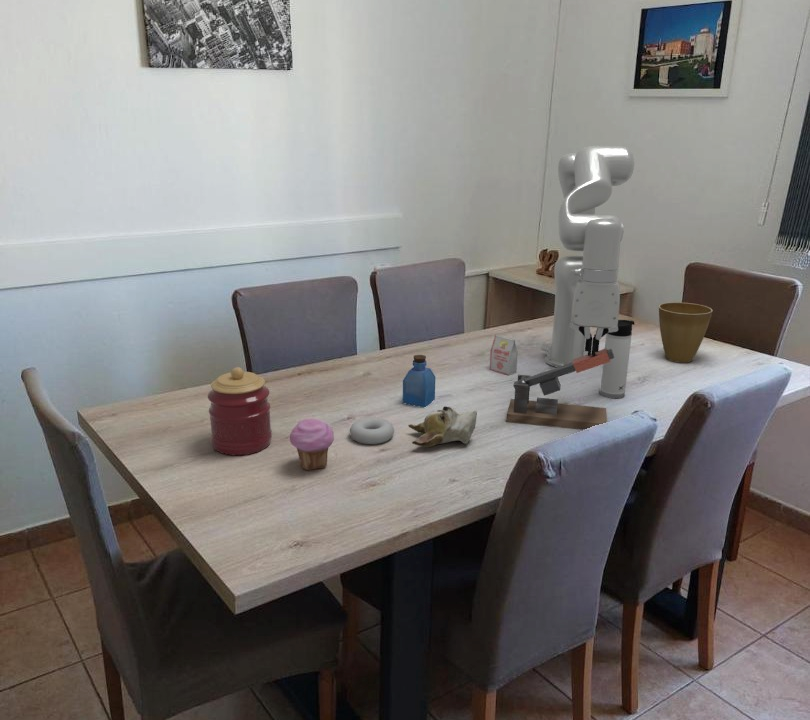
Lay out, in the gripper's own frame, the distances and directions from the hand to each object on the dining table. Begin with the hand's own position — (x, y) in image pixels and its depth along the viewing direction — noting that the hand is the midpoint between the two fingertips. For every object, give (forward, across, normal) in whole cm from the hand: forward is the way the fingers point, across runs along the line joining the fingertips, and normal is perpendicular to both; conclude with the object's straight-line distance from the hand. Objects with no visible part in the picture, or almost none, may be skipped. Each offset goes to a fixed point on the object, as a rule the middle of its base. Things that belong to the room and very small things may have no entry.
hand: (591, 354), depth 164 cm
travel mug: (+17, +7, +21) cm, 28 cm away
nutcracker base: (+17, -7, +1) cm, 18 cm away
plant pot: (+16, +27, +57) cm, 65 cm away
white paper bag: (+17, -23, +32) cm, 42 cm away
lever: (+8, -4, +1) cm, 9 cm away
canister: (+18, -73, -31) cm, 81 cm away
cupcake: (+18, -54, -37) cm, 68 cm away
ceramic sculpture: (+18, -31, -19) cm, 40 cm away
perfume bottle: (+17, -41, +3) cm, 45 cm away
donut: (+18, -46, -21) cm, 54 cm away
